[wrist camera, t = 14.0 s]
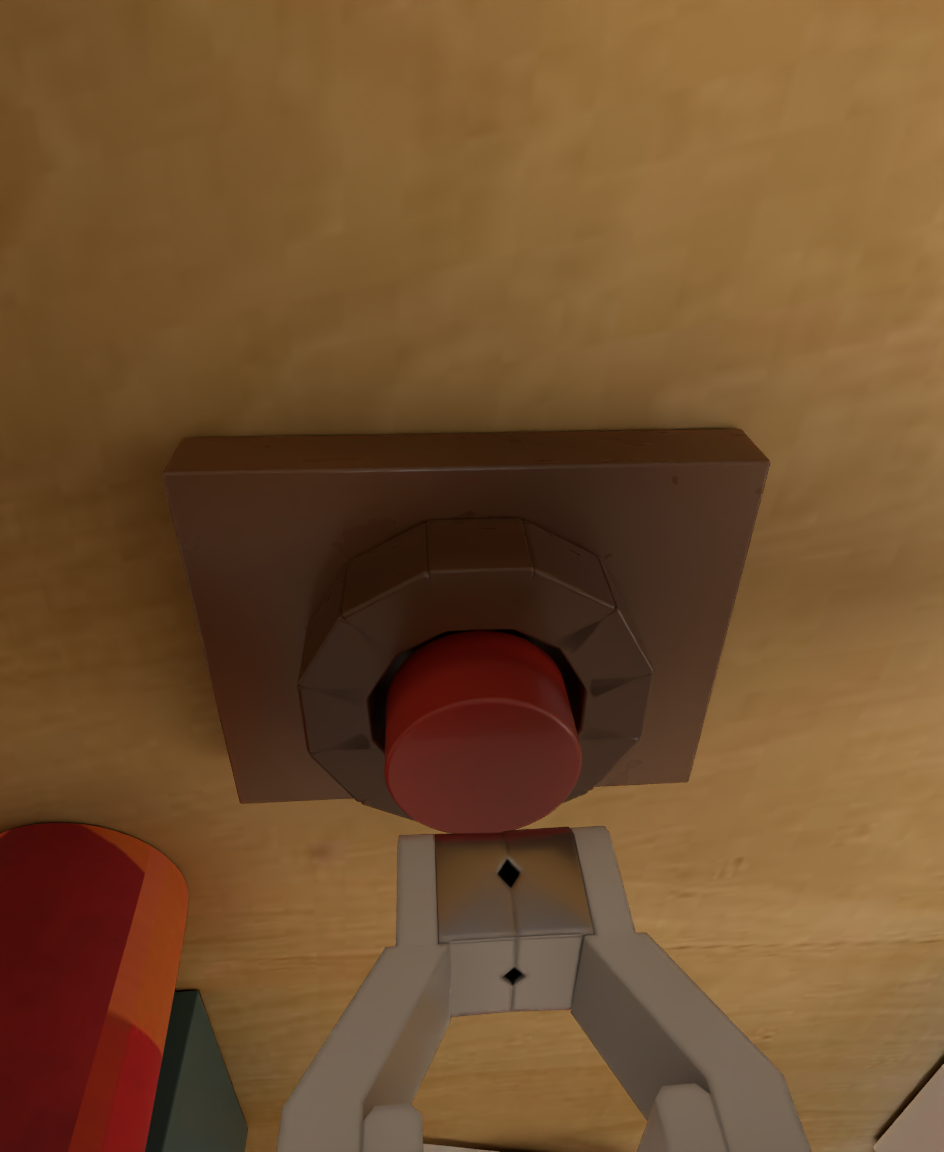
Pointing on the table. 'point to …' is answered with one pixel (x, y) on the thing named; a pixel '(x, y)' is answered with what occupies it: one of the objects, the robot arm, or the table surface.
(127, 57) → the table surface
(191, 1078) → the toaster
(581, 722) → the control block
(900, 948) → the table surface
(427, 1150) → the grater
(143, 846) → the paper cup
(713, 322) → the table surface
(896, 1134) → the desk organizer
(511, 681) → the button
